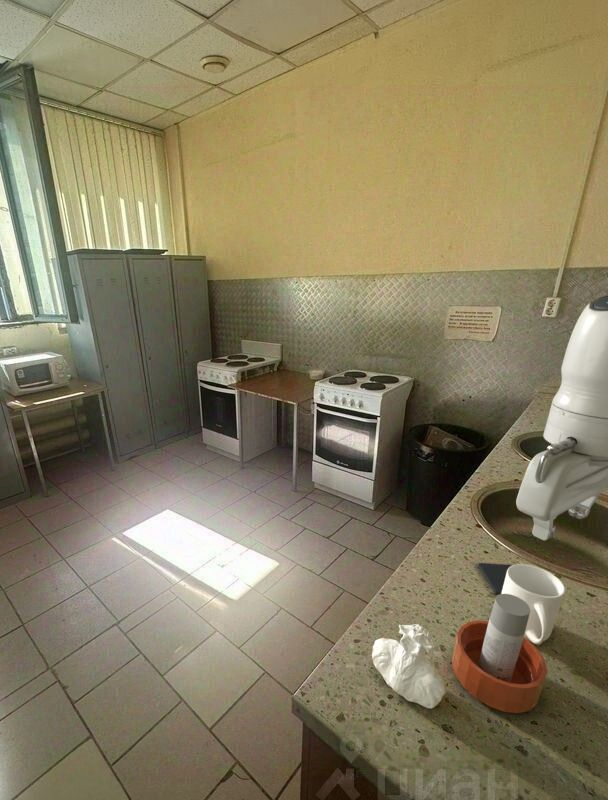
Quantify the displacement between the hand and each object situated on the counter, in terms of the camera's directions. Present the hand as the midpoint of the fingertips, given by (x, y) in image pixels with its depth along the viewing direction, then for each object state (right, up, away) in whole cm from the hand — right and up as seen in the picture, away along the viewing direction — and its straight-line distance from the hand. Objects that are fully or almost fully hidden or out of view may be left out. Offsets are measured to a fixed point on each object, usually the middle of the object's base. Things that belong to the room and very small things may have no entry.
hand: (560, 525), depth 53 cm
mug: (+9, -25, +20) cm, 33 cm away
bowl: (-2, -28, +11) cm, 30 cm away
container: (-2, -27, +11) cm, 30 cm away
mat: (+14, -20, +32) cm, 40 cm away
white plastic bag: (-16, -29, +11) cm, 35 cm away
